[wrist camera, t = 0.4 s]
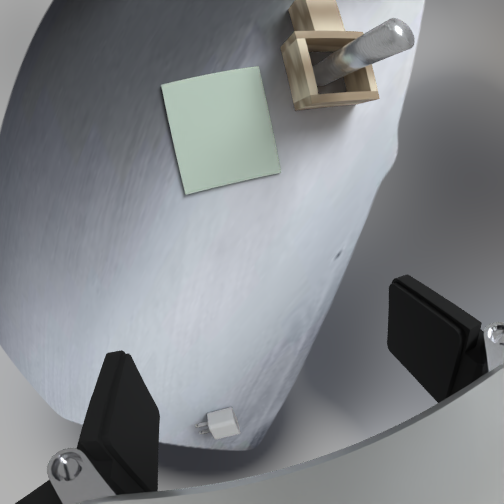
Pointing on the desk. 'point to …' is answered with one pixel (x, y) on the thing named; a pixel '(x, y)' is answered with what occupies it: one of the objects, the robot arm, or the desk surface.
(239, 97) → the mat
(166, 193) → the desk surface
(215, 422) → the usb wall charger
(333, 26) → the beige wooden open box
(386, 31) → the post
